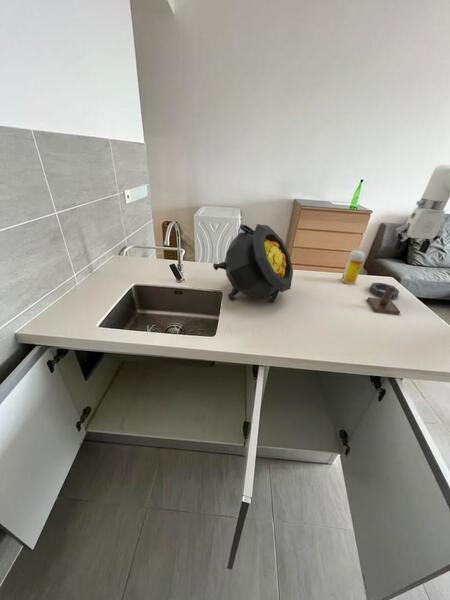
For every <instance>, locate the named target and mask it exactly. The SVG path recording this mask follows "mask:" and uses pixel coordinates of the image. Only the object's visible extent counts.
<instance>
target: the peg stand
mask: <svg viewBox="0 0 450 600" xmlns="http://www.w3.org/2000/svg"><path fill="white" fill-rule="evenodd" d="M395 288H396V286H395V285H391V284H388V286H387V288H386V290H384V292H385V293H384V295H383V297H382V298H380V297H367V299H366V301H367V303H368V304H369V306H370V308H371V309H372V311H373V312H374V313H382V314H388V315H389V314H390V315H398V316H399V315H400V314H401V310H400V309H399V308H398V307H397V305H395V303H394V302H393V300H391V299H390V298H391V296H392V294H393V292H394V290H395Z"/></svg>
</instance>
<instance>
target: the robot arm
mask: <svg viewBox="0 0 450 600" xmlns="http://www.w3.org/2000/svg"><path fill="white" fill-rule="evenodd" d="M449 199H450V164H439V165H437V166H436V167H435V168H434V170H432V173H431V176H430V178H429V180H428V181H427V184H426V187H425V190H424V192H423V194H422V195H421V198H420V200H417V201H416V203H415V205H417V207H415V208H414V209H413V210H412V212H411V213H410V215H409V217H408V219H407V221H406V223H405V224H404V225H400V226H398V227H396V228H395V237H396V239H397V241H396V243H395V245H394V251H396V252H398V253H401V252H402V251H403V248H404V245H405V244H406V242H405V241H406V240H408V239H409V238H411V239H423V241H422V243H421V244H420V247H419V249H418V252H420V253H422V254H426V253H427V252H428V250H429V248H430V246H431V244H434V242H435V241H436V240H438V239H439V238H440V237H441V236H442V235H443V234H444V232H445V231H444V230H443V229H441V226H442V224H443V220H444V219H445V218H444V217H445V212H446V211H445V207H446V206H447V204H448V201H449Z"/></svg>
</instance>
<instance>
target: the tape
mask: <svg viewBox="0 0 450 600" xmlns="http://www.w3.org/2000/svg"><path fill="white" fill-rule="evenodd" d="M388 285H389V284H388V283H384V282H373V283H371V285H370V286H369V289H368V291H369V292H370V294H372V295H374V296H375V297H376V298H379V299H382V297H383V295H384V293H385V291H386V288H387V286H388ZM398 295H400V290H399V289H398V288H397V287H395V290H394V292H393V294H392V296H391V298H390V300H391V301H393V300H396V299H397V298H398Z"/></svg>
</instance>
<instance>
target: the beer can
mask: <svg viewBox="0 0 450 600" xmlns="http://www.w3.org/2000/svg"><path fill="white" fill-rule="evenodd" d="M365 258H366V253H365V252H364V251H363V250H359V249H352V250H351V252H350V253H349V255H348V259H347V261H346V265H345V268H344V270H343V274H342V275H341V276H342V277H341V281H342V282H343V283H344V284H347V285H353V284H355V283H356V282H357V278H358V276H359V273H360V270H361V268H362V265H363V262H364V260H365Z"/></svg>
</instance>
